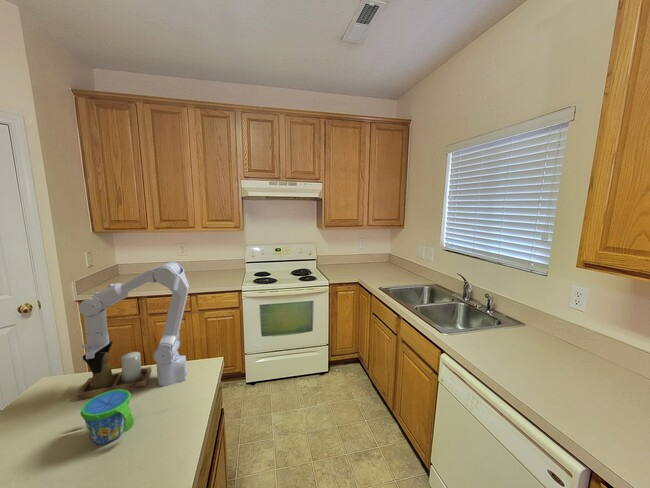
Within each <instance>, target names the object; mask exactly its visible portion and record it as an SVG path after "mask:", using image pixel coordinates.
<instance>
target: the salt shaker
mask: <svg viewBox="0 0 650 488" xmlns="http://www.w3.org/2000/svg"><path fill="white" fill-rule="evenodd" d="M141 358H142V357H141V352H139V351H131V352H128V353H125V354H123V355H122V356H121V357H120V362H121V363H120V364H121V372H122V377H123V384H128V383H133V382H138V381H142V372H141V368H142V362H141V361H142V360H141Z"/></svg>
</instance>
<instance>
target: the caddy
mask: <svg viewBox="0 0 650 488" xmlns="http://www.w3.org/2000/svg"><path fill="white" fill-rule="evenodd" d="M141 372H142V381H138V382H133V383H128V384H123V377H122V371H121V372H114V373H113V372H112V374H113V377H114V382H113V383H112V384H111V385H109V386H107V387H105V388H102V389H93V388H92V380H93V376H92V377H88V379H87V380H86V382H85V383H84V384H83V386H82V387H80V389H79V391H78V392H77V394H76V402H79V401H83V400H84V401H85V400H88V399H89V400H90V399H92V398H94V397H95V396H97V395H99V394H102V393H104V392H108V391H111V390H118V389H123V390H127V391H128V392H130V391H134V390H137V389H142V388H147V385H148V382H149V379H150V377H151V374H152V366H148V367H141Z"/></svg>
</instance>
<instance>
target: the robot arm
mask: <svg viewBox="0 0 650 488" xmlns="http://www.w3.org/2000/svg"><path fill="white" fill-rule="evenodd" d="M148 282H149V283H153V284H155V283H156V282H157V283H158V284H160V285H161V286H163V287H166V288H167V289H169V291H170V292H171V298H170V303H169V307H168V310H167V311H168V312H167V316H166V319H165V320H166V321H165V324H164V328H163V332H162V336H161V339H160V341H159V344H158V347H157V348H156V350H154V352H153V359H154V362H156V372H157V373H156V374H157V385H158V386H160V387H167V386H171V385H172V386H173V385H174V384H178V383H182V382H186V380H187V376H188V369H187V357H186V356H187V355H180V352H179V351H178V350H179V349H180V347H181V340H180V337H181V336H180V335H181V334H180V331H181V330H180V329H181V326H182V325H181V324H182V320H183V317H184V312H185V308H186V303H187V300H188V299H187V298H188V295H189V292H190V291H189V289H190V285H189V282H188V279H187V276H186V274H185V269H184V267H182V265H181V264H179V263H178V262H176V261H173V260H172V261H171V260H170V261H167V262H165V263H164V264H160V265H158V266H155V267H152V268H150V269H147V270H146V271H144V272H142V273H140V274H138V275H137V276H135V277H134V278H132V279H130V280H128V281H127V282H125V283H110V284H109V285H107V288H105V289H103V290H101V291H97V292H94V293H93V295H92V296H90V297H88V298H85V299H84V300H82V301H81V302H80V303H79V306H78V310H79V312H80V314H82V315H83V320H84V322H83V323H84V330H85V332H84V333H85V341H86V343H84V344H83V345H82V346H81V347H82V349H85V350H86V352H85V354H84V355H82V360H83V361H84V362H85V363H86V364H87V365H88V367H89V369H90V371H91V373H92V375H93V374H96V373H100V372H101V370H102V361H103V357H104V355H105V353H106V352H107V353H109V354H110V351H111V350H110V349H111V348H112V345H113V341H110V337H109V336H110V334H109V332H108V331H109V330H108V320H107V319H108V317H107V308H110V307H111V306H113V305H115V304H117V303H118V302H120V301H122V300H124V299H126V298H127V297H128V295H129V292H131V291H133V290H134V289H136V288H138V287H141V286H142V285H144V284H145V285H146V283H148ZM100 352H103V353H100Z"/></svg>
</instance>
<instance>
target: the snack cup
mask: <svg viewBox="0 0 650 488" xmlns="http://www.w3.org/2000/svg"><path fill="white" fill-rule="evenodd" d="M131 397H132V394H131V393H130V391H127V390H123V389H118V390H111V391H108V392H104V393H102V394H99V395H97V396H95V397H94V398H90V399H89V400H87V402H85V403H84V404H83V406H82V408H81V411H80V417H82V419H83V420H84V422H85V425H86V428H87V431H88V434H89V438H90V440H91V443H93V444H95V445H102V446H103V445H105V444H107V443H110V442H113V441H115V440H116V439H119V438H120V436H121V435H122V434H123V433H124V432H129V430H130V429H132V427H134V424H135V420H134V417H133V415H132V412H131V408H130V407H129V406H130V405H129V403H130V401H131Z"/></svg>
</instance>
